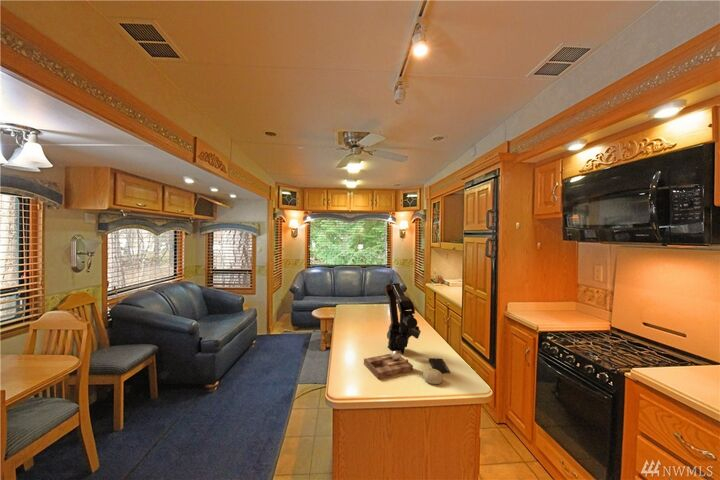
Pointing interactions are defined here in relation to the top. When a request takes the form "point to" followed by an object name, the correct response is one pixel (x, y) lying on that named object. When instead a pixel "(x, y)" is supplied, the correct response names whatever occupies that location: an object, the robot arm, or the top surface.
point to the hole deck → (387, 366)
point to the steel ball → (396, 355)
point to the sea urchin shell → (433, 376)
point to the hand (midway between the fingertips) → (404, 350)
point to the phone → (439, 365)
